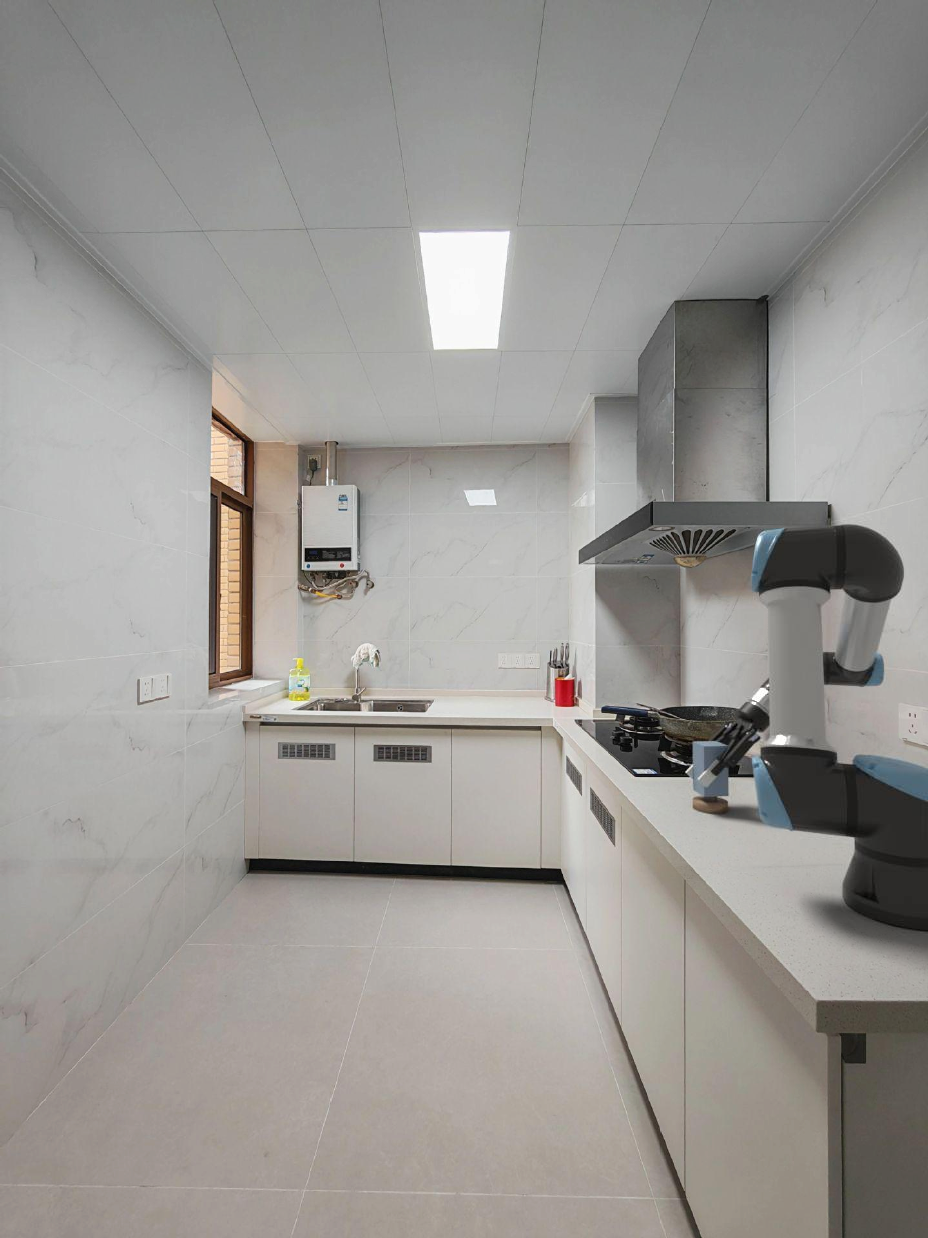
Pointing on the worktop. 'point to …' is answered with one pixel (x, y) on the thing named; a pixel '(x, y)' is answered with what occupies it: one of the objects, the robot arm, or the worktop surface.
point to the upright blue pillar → (702, 760)
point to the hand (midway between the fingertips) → (695, 779)
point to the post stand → (710, 804)
